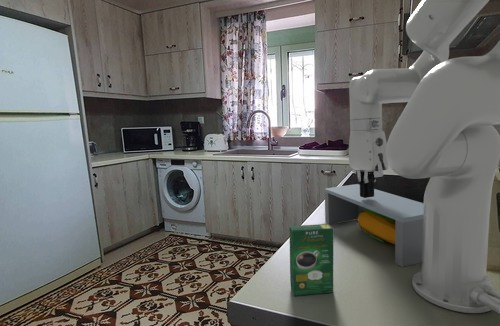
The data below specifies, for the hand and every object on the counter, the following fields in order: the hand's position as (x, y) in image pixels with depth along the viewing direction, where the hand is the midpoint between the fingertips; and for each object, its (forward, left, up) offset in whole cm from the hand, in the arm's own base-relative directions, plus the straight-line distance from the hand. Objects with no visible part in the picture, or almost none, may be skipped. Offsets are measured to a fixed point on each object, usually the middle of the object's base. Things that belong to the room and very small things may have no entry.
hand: (367, 196), depth 77 cm
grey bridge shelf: (+1, -3, -12) cm, 12 cm away
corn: (-2, -4, -12) cm, 13 cm away
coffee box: (-15, +25, -12) cm, 32 cm away
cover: (+1, -3, -2) cm, 4 cm away
